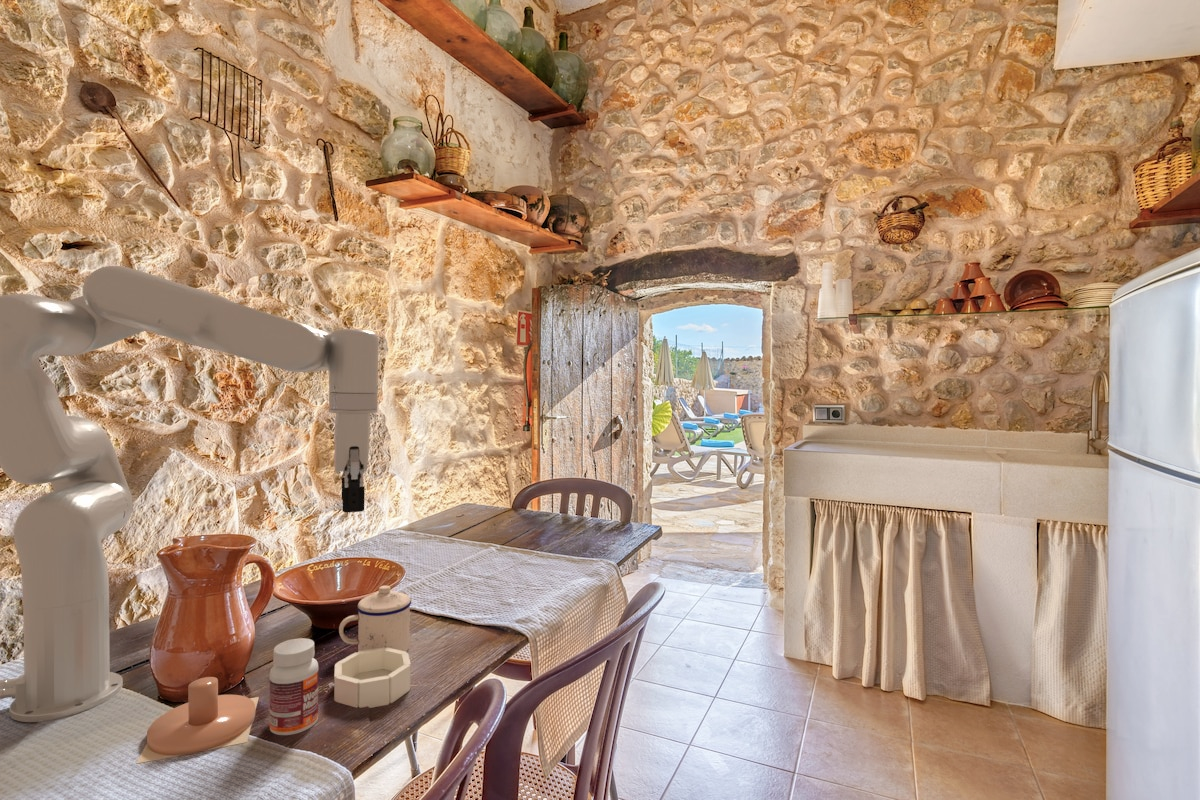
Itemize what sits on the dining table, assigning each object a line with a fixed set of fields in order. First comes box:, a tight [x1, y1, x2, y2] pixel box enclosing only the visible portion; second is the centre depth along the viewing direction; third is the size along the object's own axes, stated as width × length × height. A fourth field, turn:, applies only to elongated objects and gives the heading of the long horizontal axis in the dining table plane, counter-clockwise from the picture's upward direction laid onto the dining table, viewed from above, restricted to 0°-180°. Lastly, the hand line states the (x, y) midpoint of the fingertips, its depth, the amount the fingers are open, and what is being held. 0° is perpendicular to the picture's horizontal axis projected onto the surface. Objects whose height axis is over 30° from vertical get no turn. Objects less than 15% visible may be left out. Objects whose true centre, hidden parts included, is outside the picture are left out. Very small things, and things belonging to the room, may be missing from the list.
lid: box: [146, 676, 256, 756], centre depth 82 cm, size 12×12×6 cm
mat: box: [136, 696, 260, 765], centre depth 82 cm, size 12×12×1 cm
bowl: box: [333, 647, 412, 709], centre depth 93 cm, size 11×11×4 cm
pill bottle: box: [268, 637, 320, 736], centre depth 83 cm, size 6×6×11 cm
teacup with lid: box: [338, 585, 412, 653], centre depth 105 cm, size 12×9×12 cm
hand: (352, 505), depth 100 cm, fingers open, 9 cm apart
